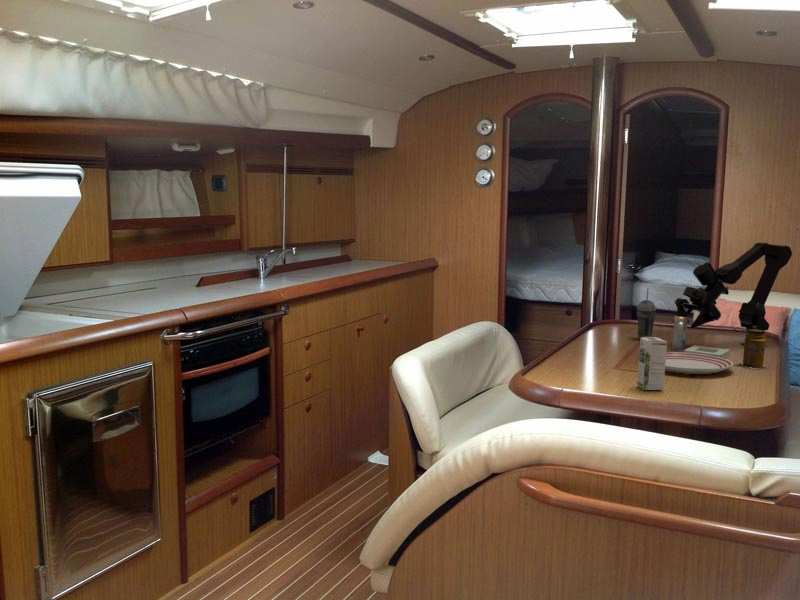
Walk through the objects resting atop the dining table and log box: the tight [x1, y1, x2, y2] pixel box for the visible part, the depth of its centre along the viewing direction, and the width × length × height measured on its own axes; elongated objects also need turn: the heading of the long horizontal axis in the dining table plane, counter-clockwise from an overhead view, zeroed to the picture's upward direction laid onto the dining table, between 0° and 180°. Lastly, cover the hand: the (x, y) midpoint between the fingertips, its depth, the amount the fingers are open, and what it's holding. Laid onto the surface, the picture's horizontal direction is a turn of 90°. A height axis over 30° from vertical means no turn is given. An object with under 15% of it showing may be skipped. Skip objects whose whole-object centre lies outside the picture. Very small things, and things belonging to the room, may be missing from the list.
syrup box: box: [636, 336, 668, 391], centre depth 209 cm, size 6×6×14 cm
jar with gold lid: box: [671, 315, 688, 351], centre depth 266 cm, size 4×4×12 cm
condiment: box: [733, 329, 769, 370], centre depth 240 cm, size 7×8×12 cm
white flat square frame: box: [683, 344, 731, 359], centre depth 256 cm, size 12×12×2 cm
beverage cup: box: [636, 288, 657, 341], centre depth 282 cm, size 7×7×20 cm
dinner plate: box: [665, 351, 734, 375], centre depth 236 cm, size 27×27×3 cm
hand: (682, 325), depth 266 cm, fingers open, 9 cm apart
